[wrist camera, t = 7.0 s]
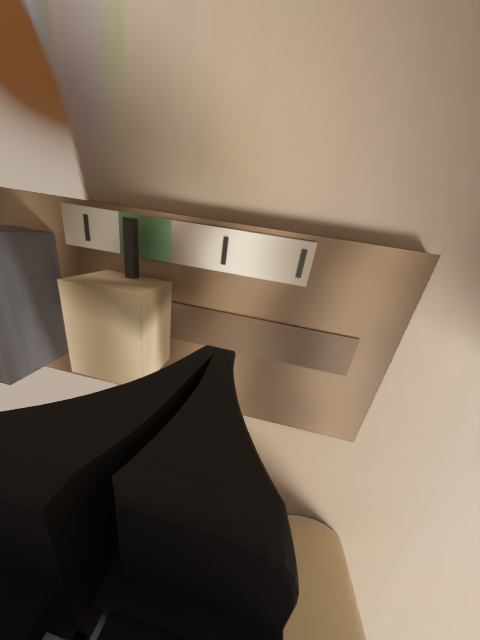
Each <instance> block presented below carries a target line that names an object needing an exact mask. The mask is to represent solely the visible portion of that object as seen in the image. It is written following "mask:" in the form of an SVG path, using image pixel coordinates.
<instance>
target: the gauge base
mask: <svg viewBox="0 0 480 640" xmlns="http://www.w3.org/2000/svg"><path fill="white" fill-rule="evenodd" d="M122 217H129V218H136V219H138V244H139V276H142V277H147V278H152V279H158V280H163V281H168V282H172V297H171V328H170V359H169V360H168V361H167V362H166V363H165V364H164V365H163V366H162V367H161V368H160V369H162V368H164V367H166V366H168V365H170V364H173V363H175V362H177V361H178V360H180V359H182V358H184V357H186V356H188V355H190V354H191V353H193V352H195V351H197V350H198V349H200V348H202V347H204V346H206V345H210V346H214V347H219V348H223V349H228V350H232V351H234V352H235V353H236V356H235V362H234V369H233V372H234V382H235V388H236V393H237V398H238V402H239V406H240V409H241V413H242V415H244V416H248V417H252V418H257V419H261V420H265V421H269V422H273V423H277V424H281V425H285V426H289V427H293V428H297V429H301V430H305V431H309V432H313V433H317V434H321V435H325V436H329V437H334V438H338V439H342V440H346V441H350V442H354V440H355V438H356V436H357V434H358V432H359V429H360V427H361V425H362V423H363V421H364V419H365V417H366V414H367V412H368V410H369V408H370V406H371V404H372V402H373V399H374V397H375V395H376V393H377V391H378V389H379V386H380V384H381V382H382V380H383V378H384V376H385V374H386V371H387V369H388V367H389V365H390V363H391V361H392V359H393V356H394V354H395V352H396V350H397V348H398V346H399V344H400V341H401V339H402V337H403V335H404V333H405V331H406V328H407V326H408V324H409V322H410V320H411V318H412V316H413V313H414V311H415V309H416V307H417V305H418V303H419V301H420V298H421V296H422V294H423V292H424V290H425V288H426V286H427V283H428V281H429V279H430V277H431V275H432V273H433V270H434V268H435V266H436V264H437V262H438V260H439V258H440V255H438V254H431V253H425V252H418V251H412V250H405V249H399V248H392V247H386V246H379V245H373V244H366V243H360V242H353V241H347V240H340V239H334V238H327V237H321V236H314V235H308V234H301V233H295V232H288V231H282V230H275V229H269V228H262V227H256V226H249V225H243V224H236V223H230V222H223V221H217V220H210V219H204V218H198V217H191V216H185V215H178V214H172V213H165V212H159V211H152V210H146V209H139V208H133V207H126V206H120V205H113V204H107V203H100V202H94V201H87V200H81V199H73V198H68V197H61V196H55V195H48V194H42V193H35V192H29V191H22V190H15V189H9V188H3V187H0V383H4V384H8V385H11V384H13V383H15V382H17V381H19V380H21V379H22V378H24V377H26V376H28V375H30V374H31V373H33V372H35V371H37V370H39V369H41V368H42V367H44V366H46V367H50V368H54V369H58V370H62V371H66V372H70V373H74V374H78V375H82V376H86V377H90V378H95V377H91V376H87V375H83V374H79V373H75V372H72V368H71V362H70V356H69V350H68V343H67V337H66V331H65V325H64V319H63V313H62V306H61V300H60V294H59V288H58V282H57V279H62V278H67V277H72V276H78V275H83V274H88V273H93V272H98V271H103V270H110V271H115V272H121V273H125V264H124V243H123V222H122ZM95 379H99V378H95ZM99 380H103V379H99ZM103 381H107V380H103ZM107 382H111V381H107ZM111 383H115V384H119V385H122V384H120V383H116V382H111Z"/></svg>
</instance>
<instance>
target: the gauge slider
mask: <svg viewBox="0 0 480 640" xmlns="http://www.w3.org/2000/svg"><path fill="white" fill-rule="evenodd" d="M122 222H123V243H124V264H125V273H121V272H115V271H110V270H103V271H98V272H93V273H88V274H83V275H78V276H72V277H67V278H62V279H57V282H58V288H59V294H60V300H61V306H62V313H63V319H64V325H65V331H66V337H67V343H68V350H69V356H70V362H71V368H72V372H75V373H79V374H83V375H87V376H91V377H95V378H99V379H103V380H107V381H111V382H116V383H120V384H125V383H128V382H131V381H133V380H136V379H139V378H142V377H144V376H146V375H149V374H151V373H154V372H156V371H158V370H160V368H161V367H162V366H163V365H164V364H165V363H166V362H167V361H168V360H169V359H170V328H171V297H172V282H168V281H163V280H158V279H152V278H147V277H142V276H139V244H138V219H136V218H129V217H122Z"/></svg>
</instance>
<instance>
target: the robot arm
mask: <svg viewBox="0 0 480 640" xmlns="http://www.w3.org/2000/svg"><path fill="white" fill-rule="evenodd" d="M235 356H236V353H235V352H234V351H232V350H228V349H223V348H219V347H214V346H210V345H206V346H204V347H202V348H200V349H198V350H197V351H195V352H193V353H191V354H190V355H188V356H186V357H184V358H182V359H180V360H178V361H177V362H175V363H173V364H170V365H168V366H166V367H164V368H162V369H160V370H158V371H156V372H154V373H151V374H149V375H146V376H144V377H142V378H139V379H136V380H133V381H131V382H128V383H125V384H122V385H119V386H115V387H112V388H109V389H105V390H102V391H99V392H95V393H92V394H88V395H84V396H80V397H76V398H72V399H67V400H63V401H58V402H53V403H48V404H43V405H39V406H32V407H26V408H21V409H14V410H9V411H2V412H0V640H283V629H284V628H285V626H286V624H287V622H288V620H289V618H290V616H291V614H292V613H293V611H294V609H295V607H296V605H297V601H298V597H299V580H298V570H297V563H296V556H295V549H294V543H293V538H292V533H291V528H290V524H289V520H288V516H287V511H286V507H285V503H284V502H283V500H282V498H281V496H280V495H279V493H278V491H277V489H276V488H275V486H274V484H273V482H272V480H271V479H270V477H269V475H268V473H267V471H266V469H265V467H264V465H263V463H262V461H261V459H260V457H259V455H258V453H257V451H256V449H255V446H254V444H253V442H252V439H251V437H250V434H249V432H248V430H247V427H246V425H245V422H244V419H243V416H242V413H241V409H240V406H239V402H238V398H237V393H236V388H235V382H234V372H233V369H234V362H235Z"/></svg>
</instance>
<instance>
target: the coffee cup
mask: <svg viewBox="0 0 480 640" xmlns="http://www.w3.org/2000/svg"><path fill="white" fill-rule="evenodd" d="M287 516H288V520H289V524H290V528H291V533H292V538H293V543H294V549H295V556H296V563H297V570H298V580H299V597H298V601H297V605H296V607H295V609H294V611H293V613H292V614H291V616H290V618H289V620H288V622H287V624H286V626H285V628H284V629H283V640H366V637H365V633H364V629H363V625H362V621H361V617H360V613H359V609H358V605H357V601H356V597H355V593H354V589H353V586H352V582H351V578H350V574H349V570H348V566H347V562H346V559H345V555H344V551H343V548H342V544H341V542H340V539H339V537H338V536H337V535H336V533H335V532H334V531H333V530H332V529H331V528H329V527H328V526H327V525H325V524H323V523H322V522H319V521H317V520H315V519H312V518H309V517H305V516H300V515H287Z"/></svg>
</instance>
